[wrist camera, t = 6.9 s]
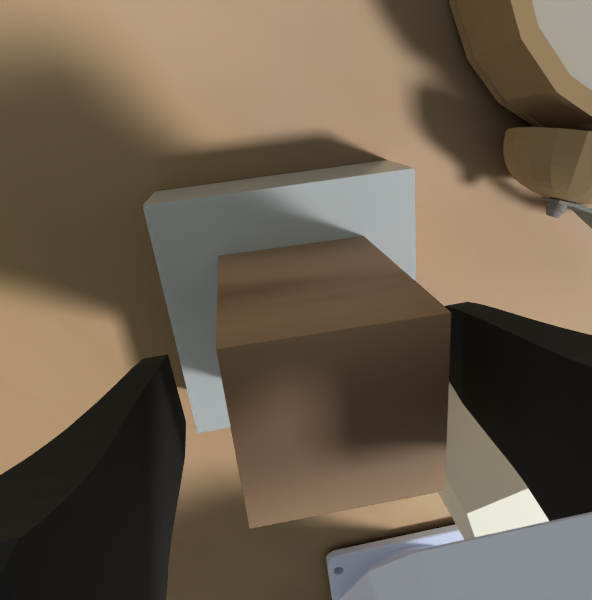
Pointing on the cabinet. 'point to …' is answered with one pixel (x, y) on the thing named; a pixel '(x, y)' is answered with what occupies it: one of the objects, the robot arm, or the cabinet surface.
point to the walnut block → (331, 378)
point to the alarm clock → (538, 89)
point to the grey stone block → (264, 246)
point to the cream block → (482, 480)
